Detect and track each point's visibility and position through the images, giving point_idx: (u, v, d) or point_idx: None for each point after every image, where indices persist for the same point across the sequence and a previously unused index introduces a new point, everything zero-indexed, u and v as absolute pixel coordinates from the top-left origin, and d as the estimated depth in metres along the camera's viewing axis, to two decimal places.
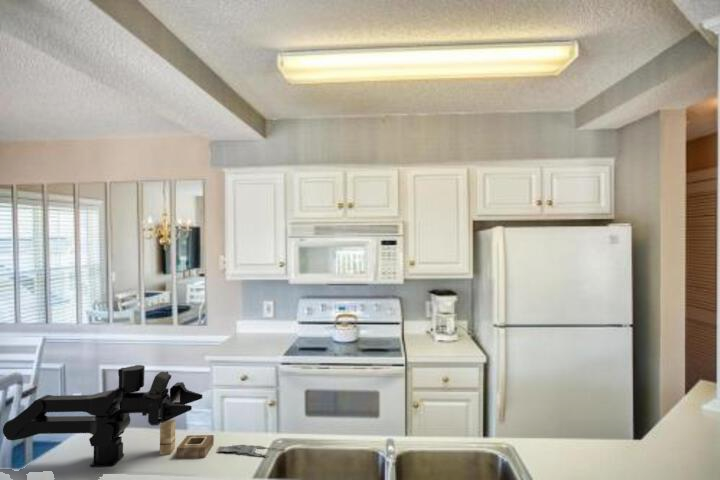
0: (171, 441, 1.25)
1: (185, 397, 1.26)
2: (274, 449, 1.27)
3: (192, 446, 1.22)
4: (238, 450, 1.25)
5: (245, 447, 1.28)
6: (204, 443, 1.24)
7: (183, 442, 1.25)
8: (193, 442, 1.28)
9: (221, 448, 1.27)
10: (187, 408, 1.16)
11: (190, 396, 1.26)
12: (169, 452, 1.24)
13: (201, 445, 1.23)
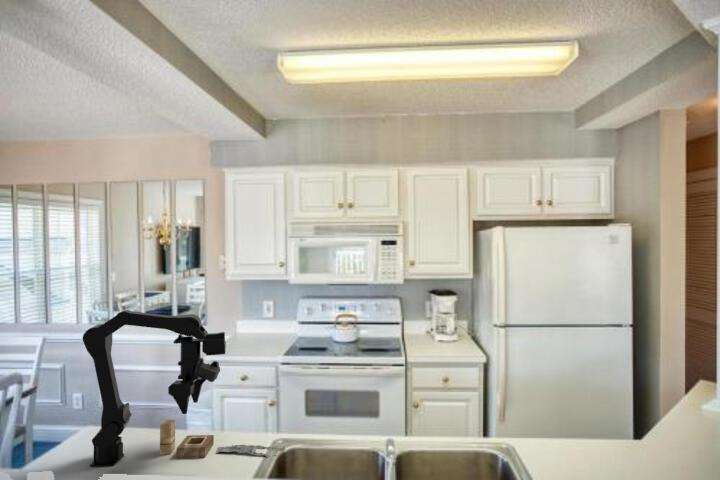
0: (171, 441, 1.25)
1: (195, 385, 1.31)
2: (274, 448, 1.27)
3: (192, 446, 1.22)
4: (238, 450, 1.24)
5: (245, 447, 1.28)
6: (204, 443, 1.24)
7: (183, 442, 1.25)
8: (193, 442, 1.28)
9: (220, 449, 1.26)
10: (184, 410, 1.21)
11: (195, 391, 1.31)
12: (169, 452, 1.24)
13: (201, 445, 1.23)
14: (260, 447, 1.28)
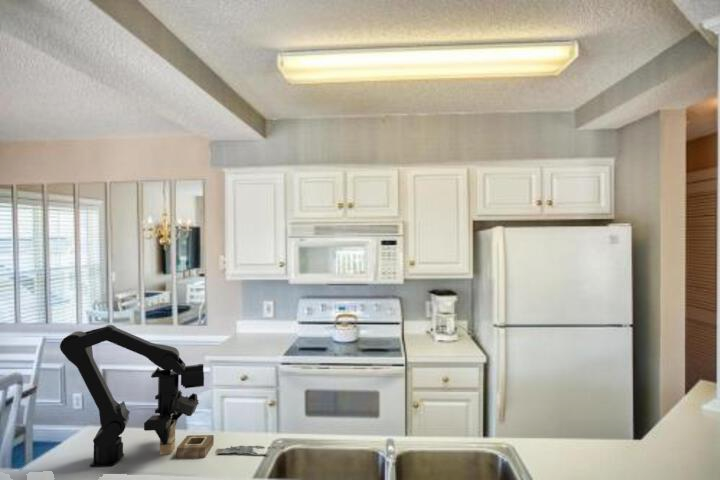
0: (171, 441, 1.25)
1: None
2: (274, 448, 1.28)
3: (192, 446, 1.22)
4: (238, 451, 1.24)
5: (244, 448, 1.27)
6: (204, 443, 1.24)
7: (183, 442, 1.25)
8: (193, 442, 1.28)
9: (219, 450, 1.26)
10: (164, 441, 1.23)
11: None
12: (169, 452, 1.24)
13: (201, 445, 1.23)
14: (259, 447, 1.28)
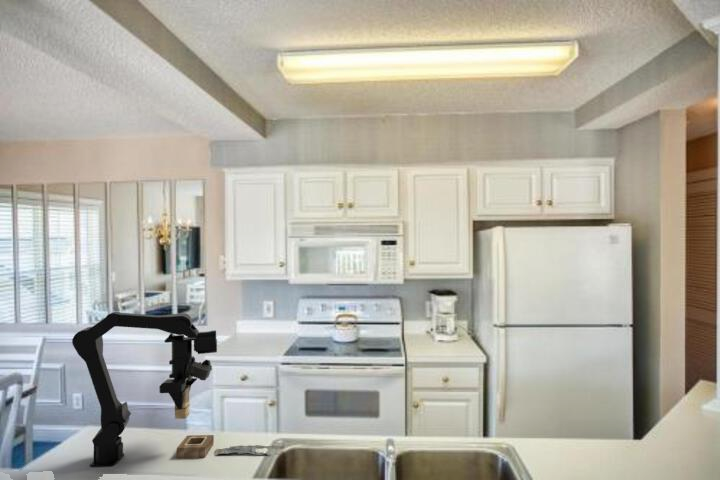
0: (186, 406, 1.25)
1: None
2: (274, 447, 1.28)
3: (192, 446, 1.22)
4: (238, 451, 1.24)
5: (243, 447, 1.27)
6: (204, 443, 1.24)
7: (183, 442, 1.25)
8: (193, 442, 1.28)
9: (219, 451, 1.25)
10: (179, 405, 1.24)
11: None
12: (184, 416, 1.25)
13: (201, 445, 1.23)
14: (259, 447, 1.28)
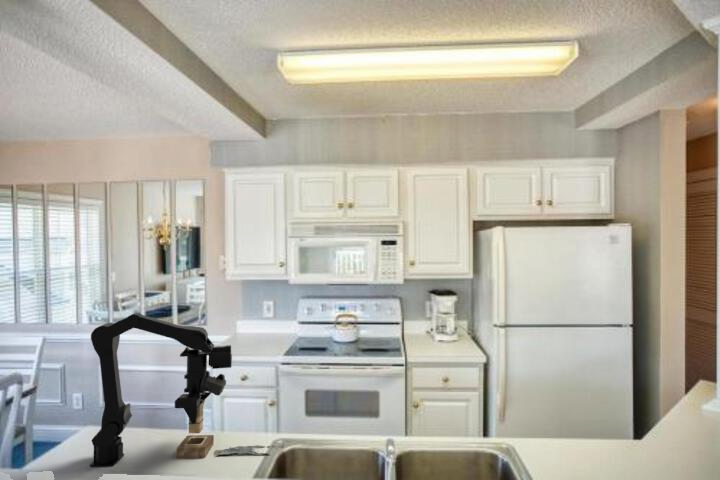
0: (200, 420, 1.25)
1: None
2: (273, 447, 1.28)
3: (192, 446, 1.22)
4: (238, 451, 1.24)
5: (243, 448, 1.27)
6: (204, 443, 1.24)
7: (183, 442, 1.25)
8: (193, 442, 1.28)
9: (218, 452, 1.25)
10: (193, 420, 1.24)
11: None
12: (198, 431, 1.25)
13: (201, 445, 1.23)
14: (259, 447, 1.28)
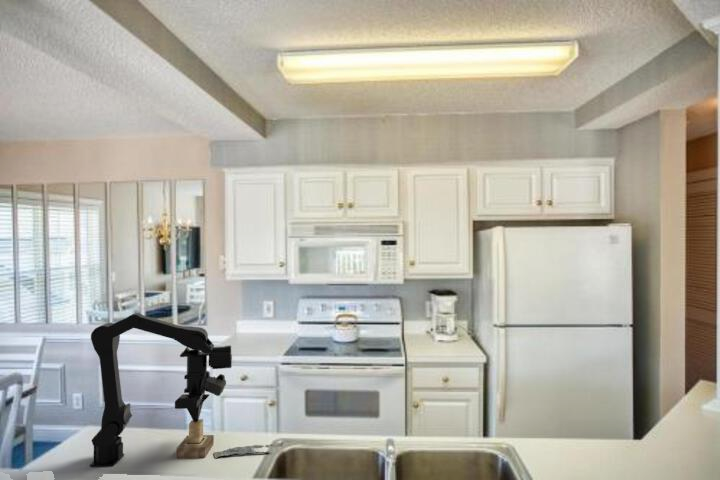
0: (200, 440, 1.25)
1: None
2: (273, 445, 1.29)
3: (192, 446, 1.22)
4: (239, 452, 1.23)
5: (242, 448, 1.27)
6: (204, 443, 1.24)
7: (183, 442, 1.25)
8: None
9: (218, 453, 1.23)
10: (195, 418, 1.26)
11: None
12: None
13: (201, 445, 1.23)
14: (258, 446, 1.28)
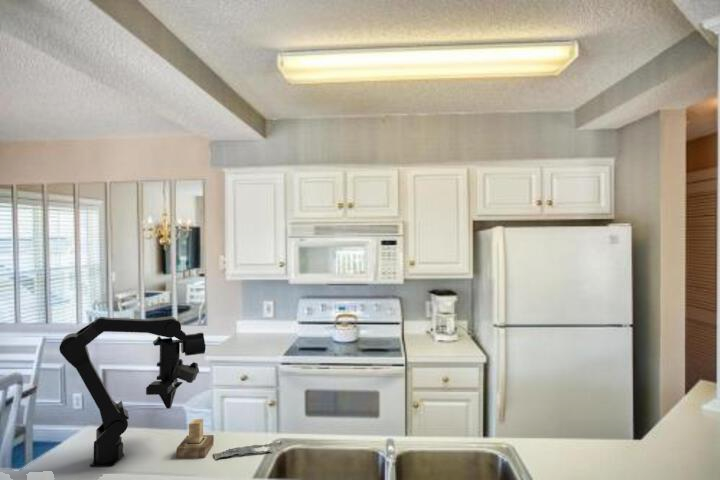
0: (200, 440, 1.25)
1: None
2: (272, 444, 1.30)
3: (192, 446, 1.22)
4: (239, 452, 1.23)
5: (241, 449, 1.26)
6: (204, 443, 1.24)
7: (183, 442, 1.25)
8: None
9: (217, 455, 1.23)
10: (168, 405, 1.28)
11: None
12: None
13: (201, 445, 1.23)
14: (257, 446, 1.28)
